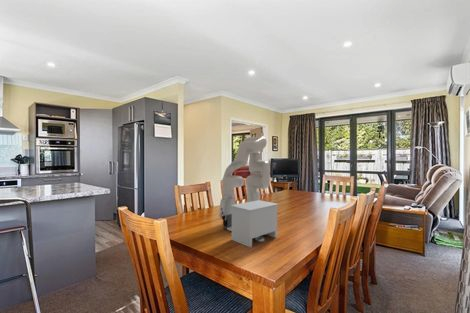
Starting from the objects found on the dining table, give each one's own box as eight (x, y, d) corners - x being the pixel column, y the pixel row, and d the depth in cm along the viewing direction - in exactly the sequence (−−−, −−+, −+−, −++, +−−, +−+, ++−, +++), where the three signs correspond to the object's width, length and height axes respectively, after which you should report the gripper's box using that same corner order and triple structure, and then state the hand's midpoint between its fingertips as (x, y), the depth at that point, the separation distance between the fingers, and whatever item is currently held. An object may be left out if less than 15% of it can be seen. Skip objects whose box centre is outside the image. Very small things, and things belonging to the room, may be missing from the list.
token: (259, 238, 130) (259, 235, 130) (266, 240, 126) (266, 237, 126) (253, 240, 126) (253, 237, 126) (260, 243, 123) (260, 240, 123)
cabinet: (258, 230, 143) (258, 200, 142) (278, 237, 131) (278, 203, 131) (230, 239, 127) (230, 205, 127) (249, 247, 116) (250, 210, 116)
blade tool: (229, 226, 150) (229, 212, 150) (256, 236, 132) (256, 220, 132) (223, 228, 146) (223, 213, 146) (250, 238, 128) (250, 222, 128)
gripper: (234, 194, 155) (234, 221, 155) (213, 197, 144) (213, 226, 144) (241, 195, 149) (241, 224, 149) (221, 198, 138) (221, 229, 138)
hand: (228, 225), depth 146 cm, fingers closed on blade tool, 4 cm apart
